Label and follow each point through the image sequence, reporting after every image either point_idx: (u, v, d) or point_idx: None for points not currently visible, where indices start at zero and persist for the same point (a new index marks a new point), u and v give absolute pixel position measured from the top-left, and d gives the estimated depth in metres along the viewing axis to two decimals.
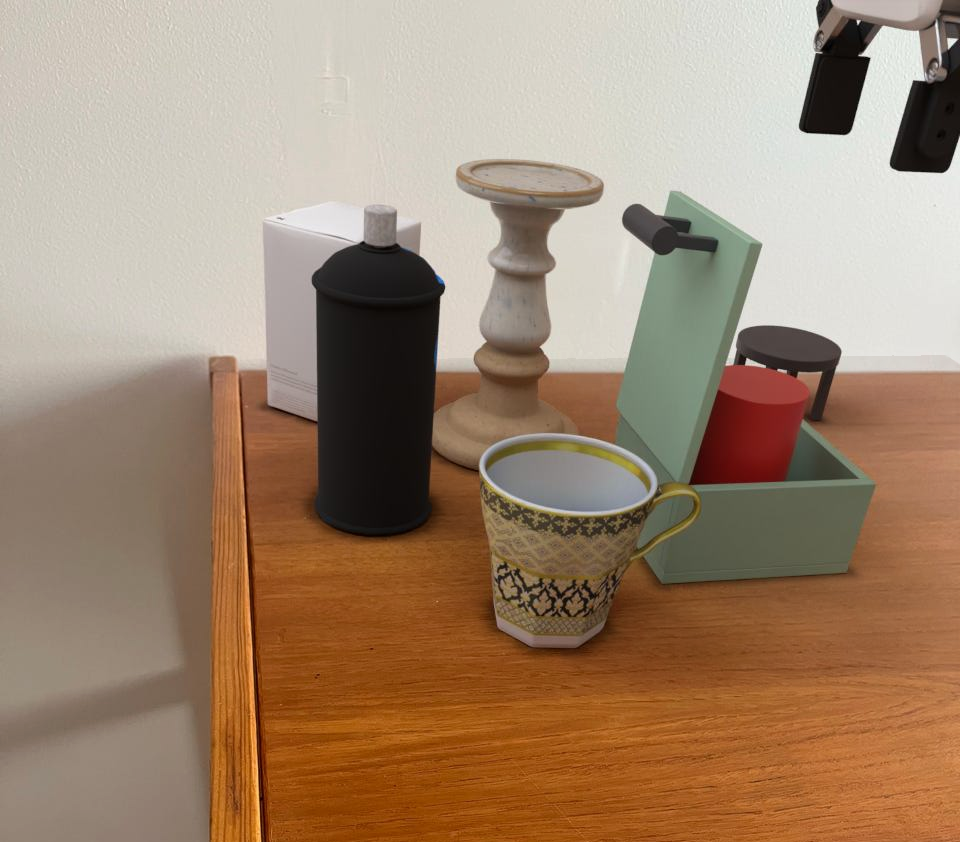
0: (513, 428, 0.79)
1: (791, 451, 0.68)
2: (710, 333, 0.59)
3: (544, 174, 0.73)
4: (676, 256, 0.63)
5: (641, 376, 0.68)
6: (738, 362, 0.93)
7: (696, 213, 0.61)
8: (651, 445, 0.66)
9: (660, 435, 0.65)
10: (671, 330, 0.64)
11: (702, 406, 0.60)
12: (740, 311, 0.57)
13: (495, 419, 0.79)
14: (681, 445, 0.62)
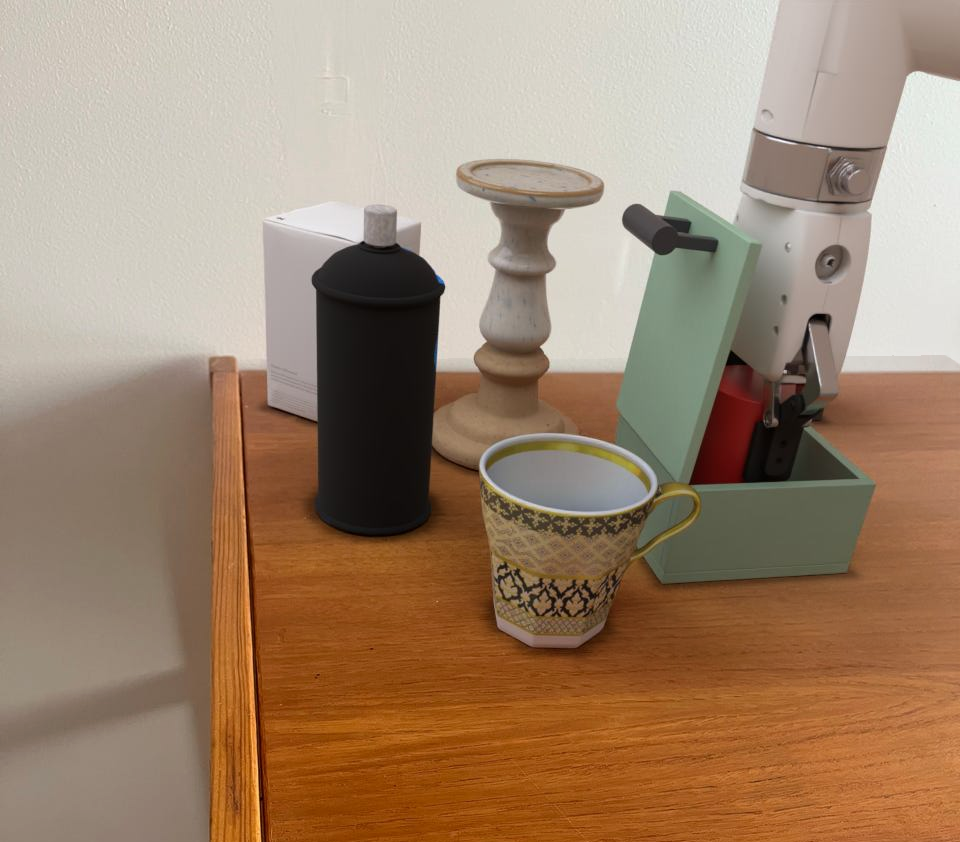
0: (513, 428, 0.79)
1: None
2: (710, 333, 0.59)
3: (544, 174, 0.73)
4: (676, 256, 0.63)
5: (641, 376, 0.68)
6: None
7: (696, 213, 0.61)
8: (651, 445, 0.66)
9: (660, 435, 0.65)
10: (671, 330, 0.64)
11: (702, 406, 0.60)
12: (740, 311, 0.57)
13: (495, 419, 0.79)
14: (681, 445, 0.62)
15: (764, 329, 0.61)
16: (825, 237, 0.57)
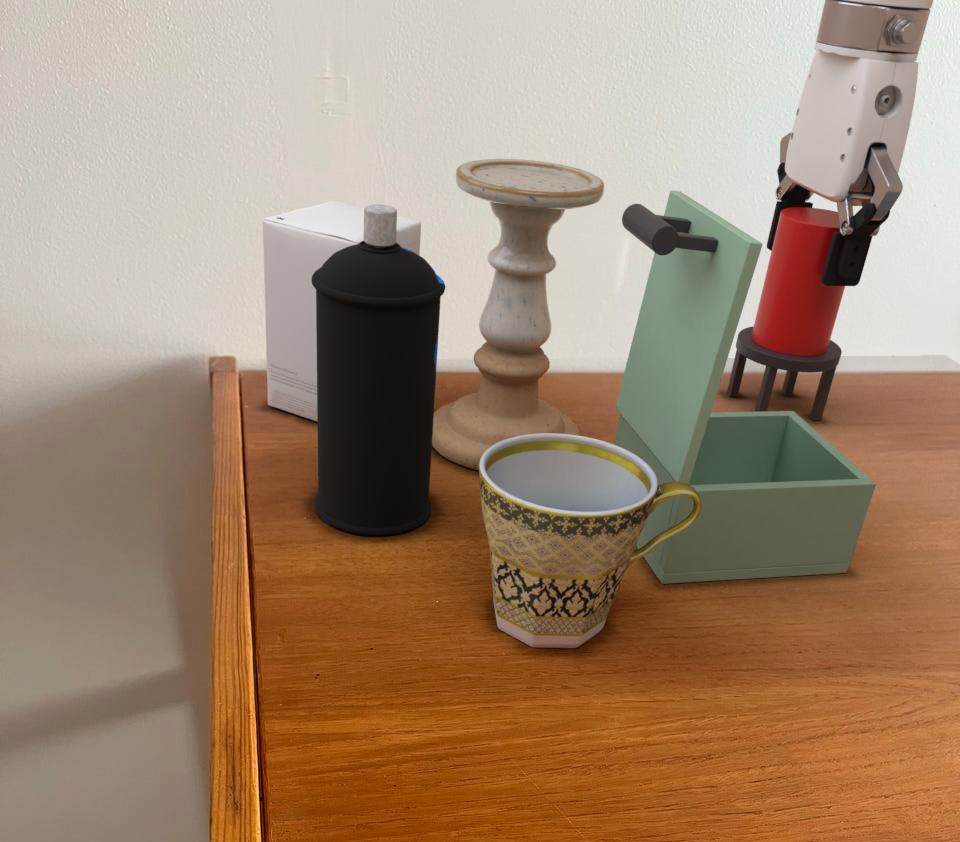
0: (513, 428, 0.79)
1: None
2: (710, 333, 0.59)
3: (544, 174, 0.73)
4: (676, 256, 0.63)
5: (641, 376, 0.68)
6: (738, 362, 0.93)
7: (696, 213, 0.61)
8: (651, 445, 0.66)
9: (660, 435, 0.65)
10: (671, 330, 0.64)
11: (702, 406, 0.60)
12: (740, 311, 0.57)
13: (495, 419, 0.79)
14: (681, 445, 0.62)
15: (832, 159, 0.79)
16: (883, 79, 0.75)
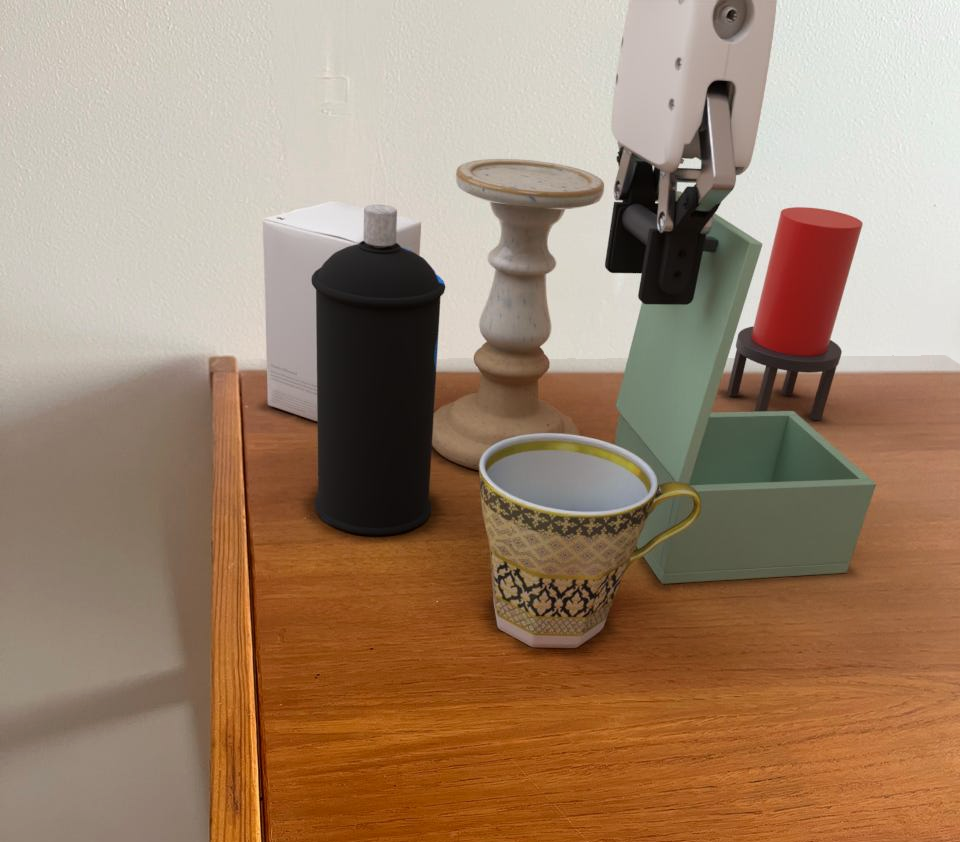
0: (513, 428, 0.79)
1: (847, 272, 0.85)
2: (710, 333, 0.59)
3: (544, 174, 0.73)
4: None
5: (641, 376, 0.68)
6: (738, 362, 0.93)
7: None
8: (651, 445, 0.66)
9: (660, 435, 0.65)
10: (671, 330, 0.64)
11: (702, 406, 0.60)
12: (740, 311, 0.57)
13: (495, 419, 0.79)
14: (681, 445, 0.62)
15: (660, 107, 0.53)
16: None
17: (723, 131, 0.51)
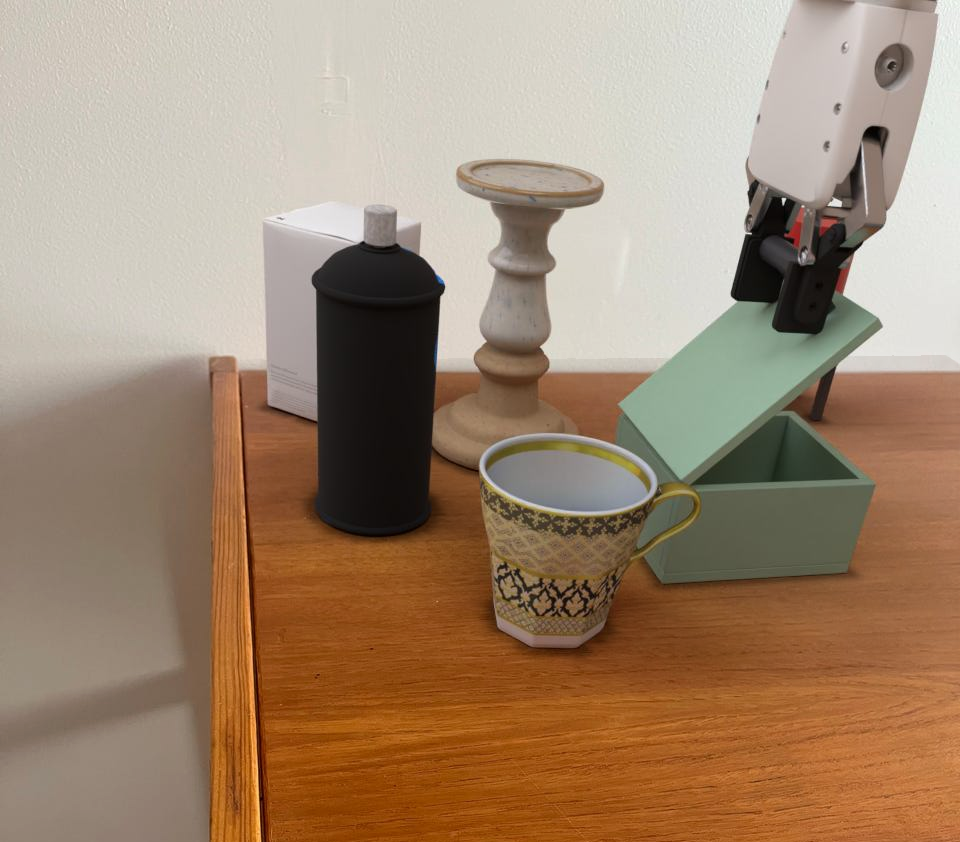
0: (513, 428, 0.79)
1: (847, 272, 0.85)
2: (789, 372, 0.62)
3: (544, 174, 0.73)
4: (770, 307, 0.67)
5: (671, 387, 0.69)
6: None
7: None
8: (656, 443, 0.66)
9: (674, 437, 0.66)
10: (734, 360, 0.66)
11: (748, 426, 0.62)
12: (830, 368, 0.61)
13: (495, 419, 0.79)
14: (703, 450, 0.63)
15: (813, 148, 0.56)
16: (888, 33, 0.52)
17: (875, 173, 0.54)
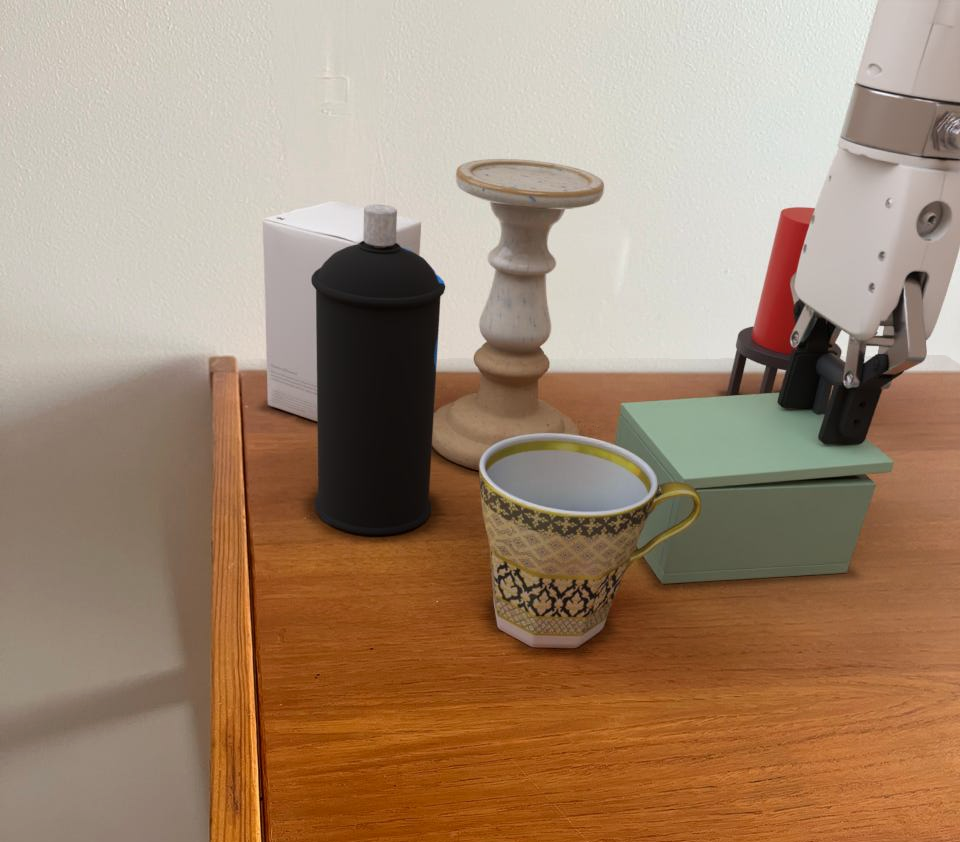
0: (513, 428, 0.79)
1: None
2: (806, 458, 0.66)
3: (544, 174, 0.73)
4: (790, 411, 0.72)
5: (682, 416, 0.70)
6: (738, 362, 0.93)
7: None
8: (661, 445, 0.67)
9: (681, 449, 0.66)
10: (750, 427, 0.69)
11: (760, 473, 0.64)
12: (840, 475, 0.65)
13: (495, 419, 0.79)
14: (711, 469, 0.64)
15: (858, 287, 0.61)
16: (928, 193, 0.57)
17: (916, 313, 0.60)
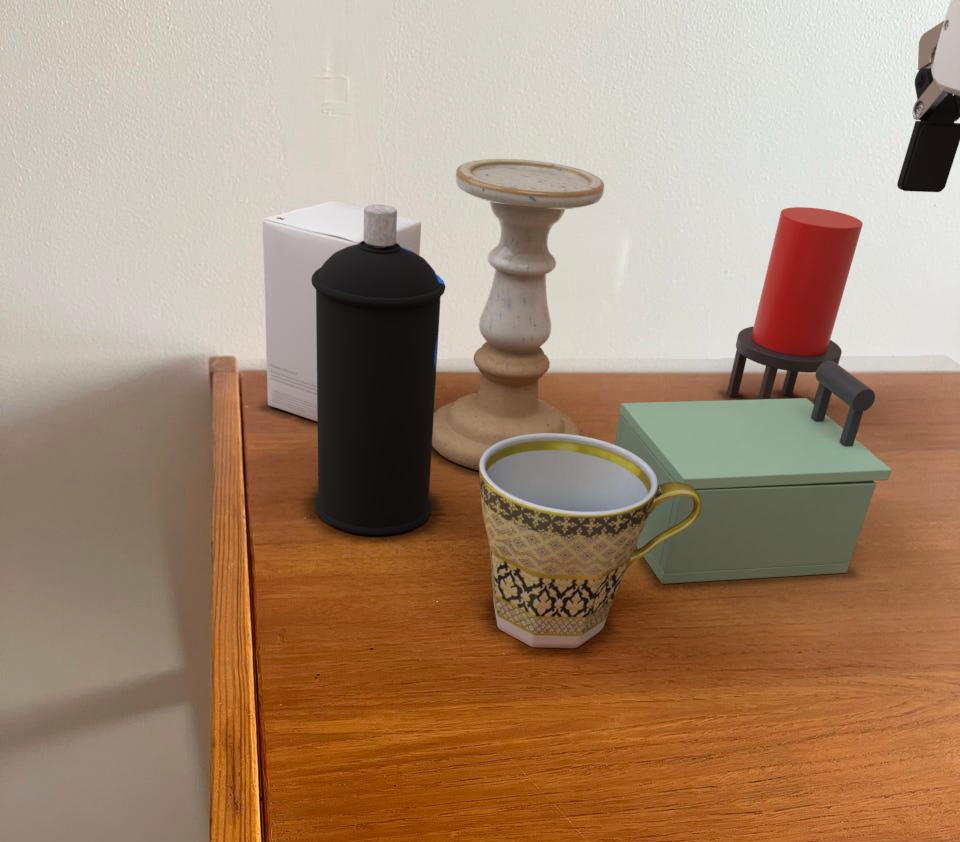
0: (513, 428, 0.79)
1: (847, 272, 0.85)
2: (805, 463, 0.66)
3: (544, 174, 0.73)
4: (789, 417, 0.72)
5: (682, 418, 0.70)
6: (738, 362, 0.93)
7: (833, 423, 0.72)
8: (662, 445, 0.67)
9: (681, 450, 0.66)
10: (750, 431, 0.69)
11: (760, 476, 0.64)
12: (838, 481, 0.66)
13: (495, 419, 0.79)
14: (711, 471, 0.64)
15: None
16: None
17: None
